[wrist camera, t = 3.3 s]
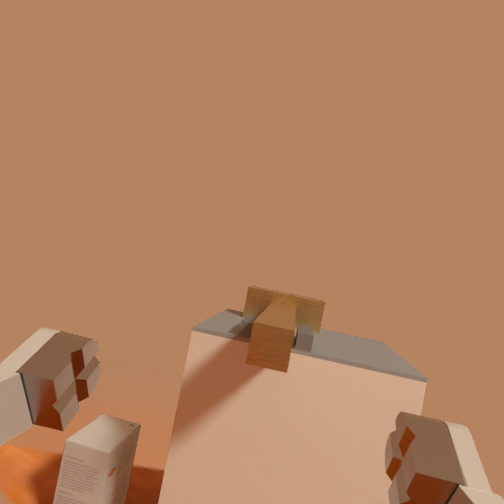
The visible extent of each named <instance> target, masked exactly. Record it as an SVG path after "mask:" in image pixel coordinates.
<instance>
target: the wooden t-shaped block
mask: <svg viewBox="0 0 504 504" xmlns="http://www.w3.org/2000/svg"><path fill="white" fill-rule="evenodd" d="M324 305H325V302H324V301H323V300H318V299H314V298H309V297H304V296H299V295H294V294H289V293H284V292H279V291H274V290H269V289H264V288H259V287H254V286H251V287H249V288H248V292H247V297H246V303H245V308H244V313H243V318H245V317H246V316H248V315H249V314H251V315H255V316H258V318H257V319H256V320H255V321H254V322H253V327H252V332H251V337H250V343H249V348H248V353H247V358H246V363H245V364H250V365H254V366H258V367H263V368H267V369H271V370H276V371H280V372H284V373H287V370H288V365H289V360H290V354H291V349H292V344H293V339H294V333H295V329H297V327H298V325H302V326H307V327H312V331H313V333H318V334H319V332H320V327H321V321H322V316H323V311H324Z"/></svg>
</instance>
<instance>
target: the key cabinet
mask: <svg viewBox="0 0 504 504" xmlns="http://www.w3.org/2000/svg"><path fill="white" fill-rule="evenodd" d="M243 313H244V312H239V311H235V310H230V309H226V310H225V311H223V312H221V313H219V314H217V315H215V316H213V317H211V318H209V319H207V320H205V321H203V322H201V323H199V324H198V325H195V326H194V327H193V330H192V336H191V340H190V345H189V350H188V355H187V360H186V365H185V370H184V375H183V381H182V385H181V390H180V396H179V400H178V406H177V411H176V416H175V421H174V426H173V431H172V436H171V441H170V446H169V452H168V456H167V461H166V466H165V471H164V476H163V481H162V486H161V491H160V496H159V501H158V504H389V496H388V490H389V488H390V486H391V483H392V481H391V479H390V478H389V477H388V475H387V474H386V470H385V449H386V442H387V440H388V437H389V434H390V433H391V432H393V431H395V430H396V425H395V420H396V418H397V416H398V414H399V413H400V412H401V411H402V412H406V413H411V414H415V415H420V416H421V411H422V405H423V399H424V394H425V389H426V383H427V378H426V377H425V376H424V375H423V374H421V373H420V372H419V371H418V370H416V369H415V368H414V367H413V366H412V365H410V364H409V363H408V362H407V361H405V360H404V359H403V358H402V357H401V356H399V355H398V354H397V353H396V352H394V351H393V350H392V349H391V348H389V347H388V346H387V345H386V344H385V343H383V342H380V341H376V340H371V339H366V338H362V337H357V336H352V335H348V334H343V333H338V332H334V331H329V330H324V329H320V332H319V334H318V333H313V331H312V327H307V326H302V325H298V327H297V329H295V333H294V339H293V344H292V349H291V354H290V360H289V365H288V370H287V373H284V372H280V371H276V370H271V369H267V368H263V367H258V366H254V365H250V364H245V363H246V358H247V353H248V348H249V343H250V337H251V332H252V327H253V322H254V321H255V320H256V319H257V318H258V316H255V315H251V314H249V315H248V316H246V317H245V318H243Z"/></svg>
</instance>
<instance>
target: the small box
mask: <svg viewBox="0 0 504 504" xmlns="http://www.w3.org/2000/svg"><path fill="white" fill-rule="evenodd" d="M140 426H141V425H139V424H136V423H133V422H129V421H125V420H122V419H119V418H115V417H111V416H108V415H104V414H102V415H101V416H99V417H98V418H96V419H95V420H94V421H92V422H91V423H89V424H88V425H86V426H85V427H84V428H82V429H81V430H79V431H78V432H76V433H75V434H74V435H72V436H70V437H69V438H68V439H66V440H65V445H64V450H63V454H62V460H61V465H60V469H59V475H58V480H57V485H56V489H55V494H54V499H53V504H125V500H126V496H127V491H128V486H129V481H130V476H131V471H132V466H133V461H134V456H135V451H136V446H137V441H138V436H139V431H140Z"/></svg>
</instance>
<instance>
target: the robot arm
mask: <svg viewBox="0 0 504 504" xmlns="http://www.w3.org/2000/svg"><path fill="white" fill-rule="evenodd" d="M97 352H98V345H97V341H95V340H93V339H89V338H85V337H82V336H78V335H74V334H70V333H66V332H63V331H58V330H54V329H50V328H46V327H44V328H42V329H39V330H38V331H36V333H34V334H33V335H32V336H31V337H30V338H29V339H27V340H26V341H25V342H24V343H23V344H22V345H21V346H19V347H18V348H17V349H16V350H15V351H14V352H13V353H12V354H11V355H9V356H8V357H7V358H6V359H5V360H4V361H3V362H1V363H0V446H1V445H3V444H4V443H6V442H8V441H9V440H11V439H12V438H14V437H16V436H17V435H19V434H20V433H22V432H24V431H25V430H27V429H29V428H30V427H32V426H33V424H35V425H39V426H44V427H48V428H52V429H56V430H60V431H64V429H65V428H66V427H67V425H68V424H69V423H70V421H71V420H72V419H73V417H74V416H75V415H76V413H77V412H78V411H79V402H80V401H82V400H83V399H86V398H87V397H89V396H90V394H91V393H92V391H93V390H94V389H95V387H96V384H97V382H98V380H99V376H100V370H101V369H100V362H99V361H98V360H97V359H96V358H95V354H96V353H97ZM395 425H396V430H395V431H393V432H391V433H390V434H389V437H388V440H387V442H386V449H385V470H386V474H387V475H388V477H389V478H390V479H391V481H392V483H391V486H390V488H389V490H388V496H389V504H504V500H503V499H502V497H501V496H500V495H497V494H493V493H492V491H491V488H490V485H489V483H488V480H487V477H486V474H485V472H484V469H483V466H482V464H481V461H480V458H479V455H478V453H477V450H476V447H475V445H474V442H473V439H472V436H471V433H470V431H469V429H468V428H467V427H466V426H464V425H460V424H455V423H451V422H446V421H441V420H437V419H433V418H429V417H424V416H420V415H415V414H411V413H406V412H402V411H401V412H400V413H399V414H398V416H397V418H396V420H395Z"/></svg>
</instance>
